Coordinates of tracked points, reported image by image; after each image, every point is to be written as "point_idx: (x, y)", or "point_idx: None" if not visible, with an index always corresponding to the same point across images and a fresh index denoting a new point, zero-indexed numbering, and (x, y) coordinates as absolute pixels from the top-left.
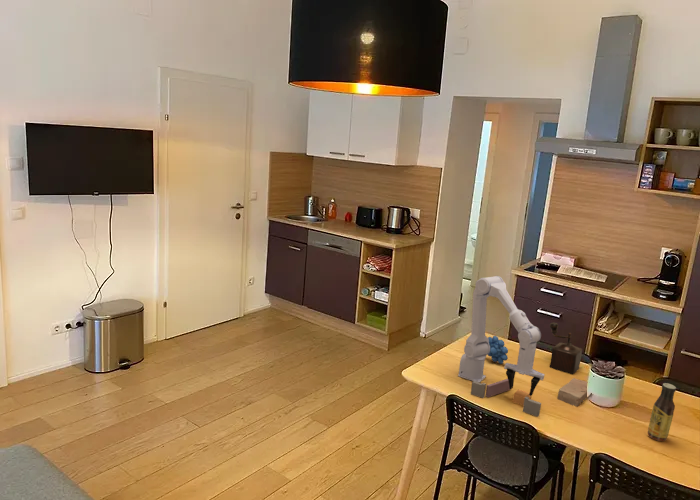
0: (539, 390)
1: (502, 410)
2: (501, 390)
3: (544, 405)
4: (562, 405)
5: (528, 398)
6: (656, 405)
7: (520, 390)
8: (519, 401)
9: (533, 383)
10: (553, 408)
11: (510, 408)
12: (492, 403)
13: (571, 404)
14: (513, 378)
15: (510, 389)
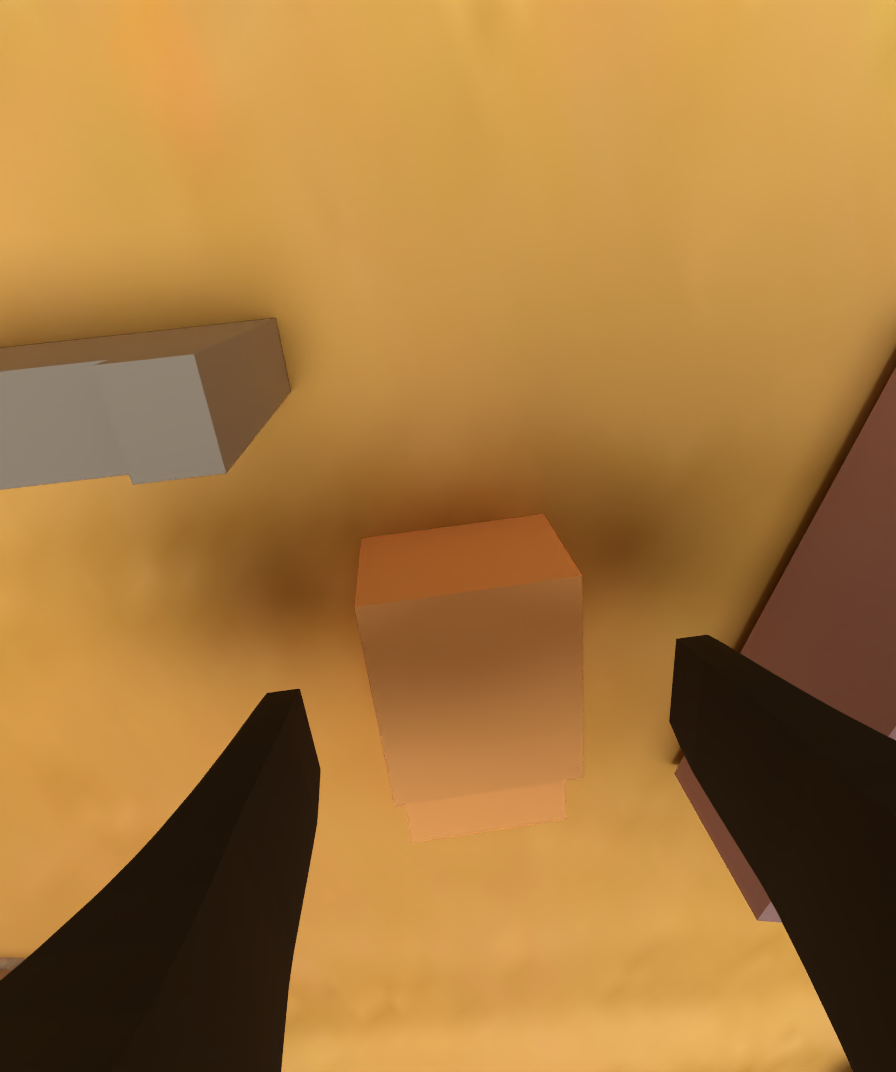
0: (413, 963)
1: (568, 33)
2: (782, 637)
3: (180, 746)
4: (49, 887)
5: (117, 431)
6: None
7: (537, 770)
8: (445, 547)
9: (40, 1029)
10: (57, 762)
11: (482, 264)
12: (803, 181)
13: (3, 962)
14: (800, 899)
15: (677, 772)
